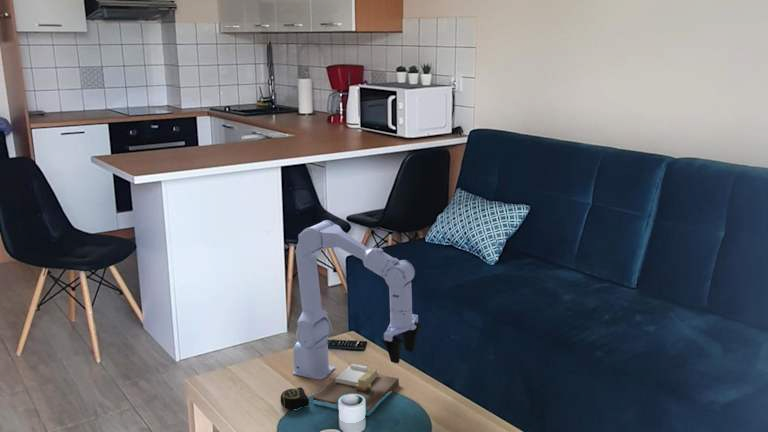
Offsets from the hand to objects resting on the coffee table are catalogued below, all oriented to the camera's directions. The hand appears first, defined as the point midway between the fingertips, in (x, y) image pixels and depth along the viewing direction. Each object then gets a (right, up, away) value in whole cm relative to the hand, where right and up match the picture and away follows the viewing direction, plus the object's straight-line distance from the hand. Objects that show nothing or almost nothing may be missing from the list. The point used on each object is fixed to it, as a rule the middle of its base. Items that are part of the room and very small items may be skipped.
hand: (402, 356), depth 185 cm
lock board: (-12, -10, +1) cm, 16 cm away
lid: (-12, -7, +5) cm, 15 cm away
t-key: (-10, -8, -1) cm, 13 cm away
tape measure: (-27, -12, -3) cm, 30 cm away
